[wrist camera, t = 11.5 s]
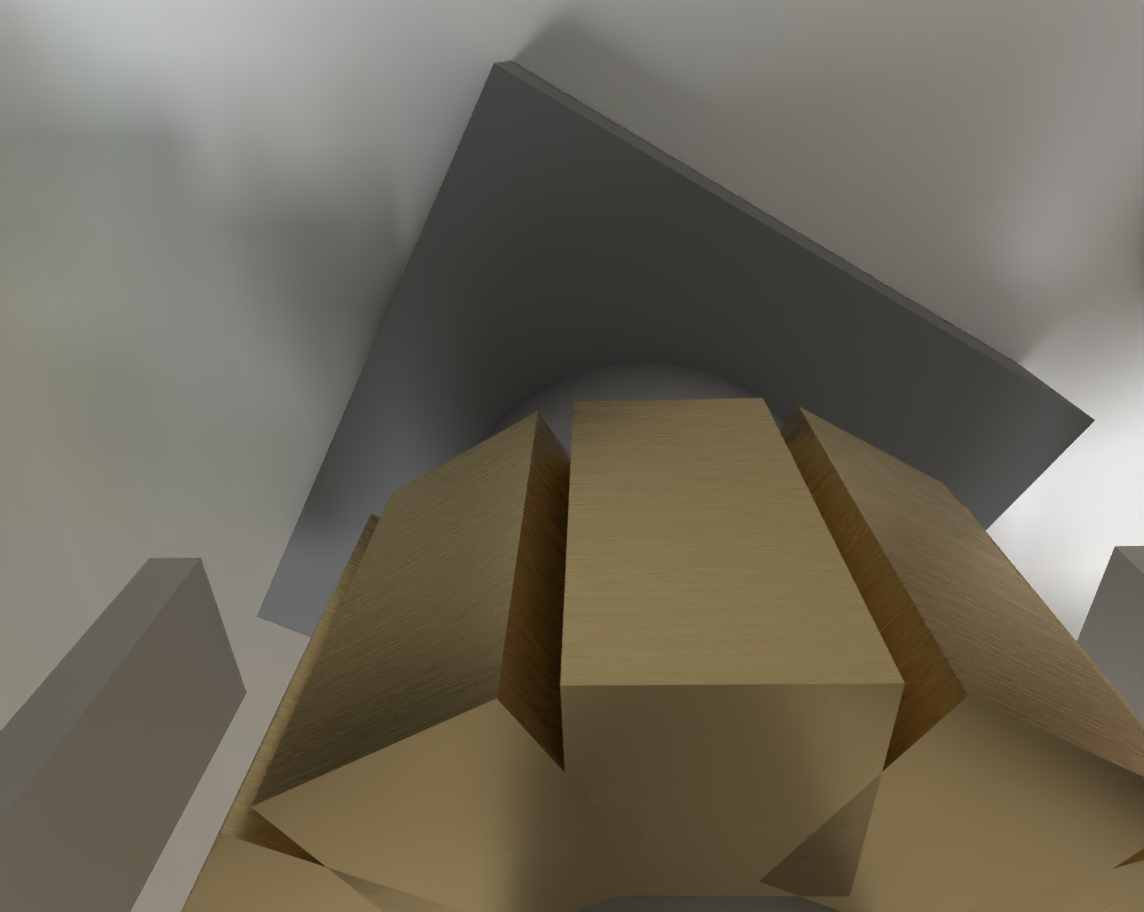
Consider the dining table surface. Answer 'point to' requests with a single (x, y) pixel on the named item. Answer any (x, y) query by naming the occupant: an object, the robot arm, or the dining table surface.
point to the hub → (642, 342)
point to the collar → (685, 692)
